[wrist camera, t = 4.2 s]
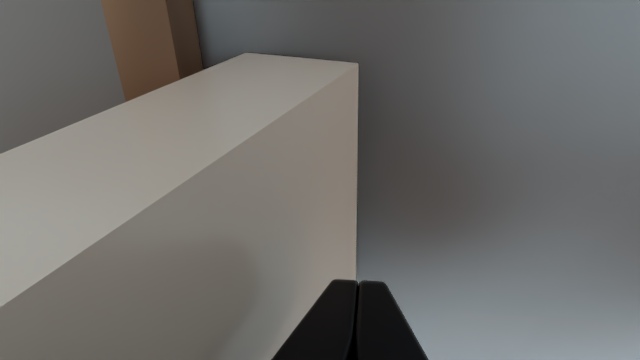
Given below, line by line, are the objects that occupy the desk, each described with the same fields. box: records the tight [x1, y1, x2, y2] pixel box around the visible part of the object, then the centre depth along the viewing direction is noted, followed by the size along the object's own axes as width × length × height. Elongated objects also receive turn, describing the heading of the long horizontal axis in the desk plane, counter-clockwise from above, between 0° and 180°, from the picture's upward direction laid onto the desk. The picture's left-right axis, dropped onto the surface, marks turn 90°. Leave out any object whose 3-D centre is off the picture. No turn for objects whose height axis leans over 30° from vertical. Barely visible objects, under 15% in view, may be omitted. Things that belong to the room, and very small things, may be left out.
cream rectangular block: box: [0, 53, 359, 360], centre depth 7 cm, size 3×6×8 cm, turn 2°
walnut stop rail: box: [101, 0, 203, 102], centre depth 11 cm, size 1×14×1 cm, turn 2°
